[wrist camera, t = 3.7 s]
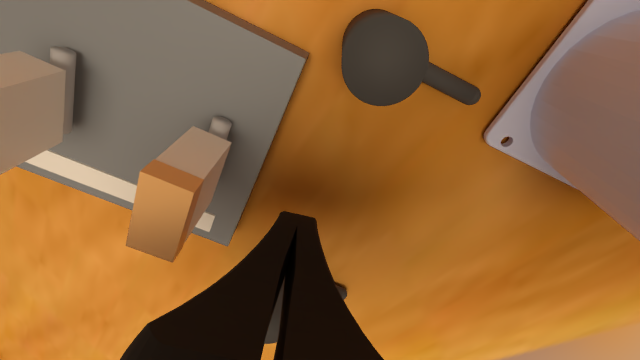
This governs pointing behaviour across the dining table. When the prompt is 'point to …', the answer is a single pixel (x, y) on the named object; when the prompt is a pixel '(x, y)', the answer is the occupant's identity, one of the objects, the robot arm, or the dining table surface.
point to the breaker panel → (157, 91)
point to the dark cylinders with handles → (386, 78)
